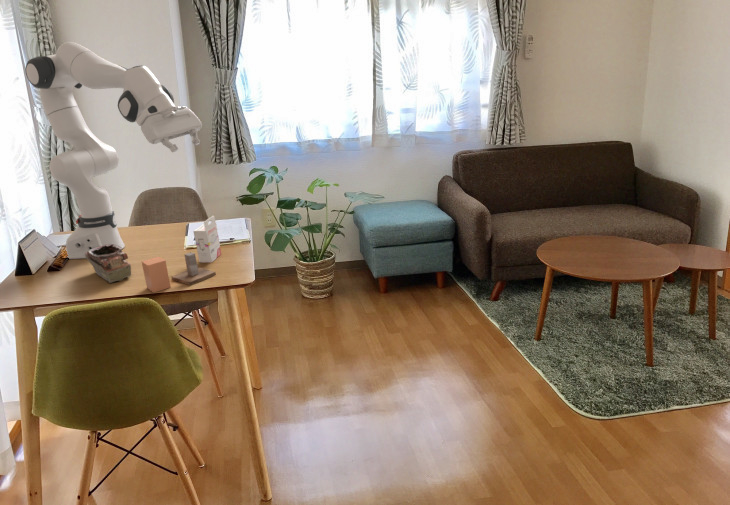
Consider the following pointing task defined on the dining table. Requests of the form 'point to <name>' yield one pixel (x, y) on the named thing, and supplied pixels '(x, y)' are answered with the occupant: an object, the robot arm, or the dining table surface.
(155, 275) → the salmon pink toy brick
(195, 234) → the ink cartridge box
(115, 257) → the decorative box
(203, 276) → the post stand
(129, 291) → the dining table surface
